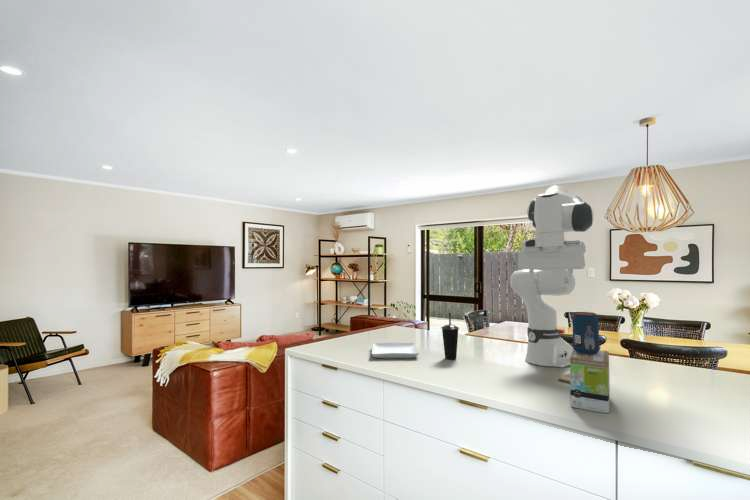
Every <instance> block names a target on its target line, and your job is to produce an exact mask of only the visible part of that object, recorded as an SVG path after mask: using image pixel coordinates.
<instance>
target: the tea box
mask: <svg viewBox="0 0 750 500" xmlns="http://www.w3.org/2000/svg"><path fill="white" fill-rule="evenodd" d="M609 354H610V353H609V351H608V350H602V349H601V350H600V349H599V351H598V353H597V354H596V355H583V354H578V353H576V351H575V350H574V348H573V352H572V354H571V357H570V365H569V371H570V372H569V373H570V383H569V385H570V386H569V387H570V388H569V389H570V391H569V392H570V393H569V395H570V397H569V399H570V401H569V402H570V407H572V408H576V409H580V410H586V411H591V412H598V413H602V414H609V413H610V392H611V391H610V388H611V387H610V384H611V383H610V355H609Z"/></svg>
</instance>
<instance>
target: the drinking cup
mask: <svg viewBox="0 0 750 500" xmlns="http://www.w3.org/2000/svg"><path fill="white" fill-rule="evenodd" d="M451 316H452V314H451V313H450V312H449V313H448V323H449V324H445V325H444V326H441V331H442V341H443V349H444V358H445V360H450V361H454V360H457V355H458V354H457V352H458V337H459V336H458V335H459V330H460V327H459V326H456V325H455V324H452V319H451Z"/></svg>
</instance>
